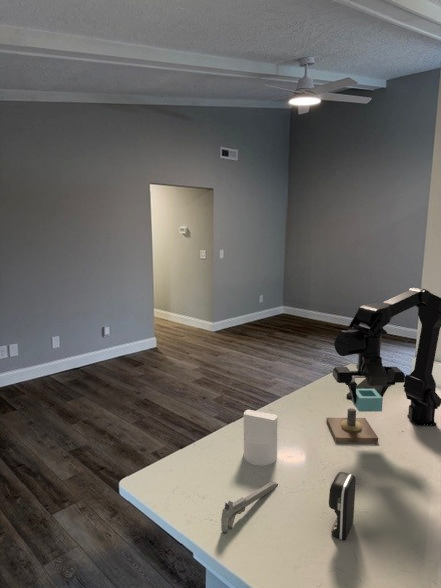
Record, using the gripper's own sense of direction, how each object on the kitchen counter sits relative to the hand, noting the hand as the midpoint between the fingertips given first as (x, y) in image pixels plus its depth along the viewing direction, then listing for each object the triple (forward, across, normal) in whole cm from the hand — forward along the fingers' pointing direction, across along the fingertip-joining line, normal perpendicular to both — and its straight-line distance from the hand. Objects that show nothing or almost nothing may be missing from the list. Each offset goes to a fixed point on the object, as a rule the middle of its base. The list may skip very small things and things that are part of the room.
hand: (366, 402), depth 115 cm
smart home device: (+12, +12, +33) cm, 37 cm away
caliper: (+12, -35, -28) cm, 46 cm away
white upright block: (+11, -31, -8) cm, 34 cm away
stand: (+11, -3, +4) cm, 12 cm away
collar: (+1, 0, 0) cm, 1 cm away
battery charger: (+11, -17, -35) cm, 40 cm away
